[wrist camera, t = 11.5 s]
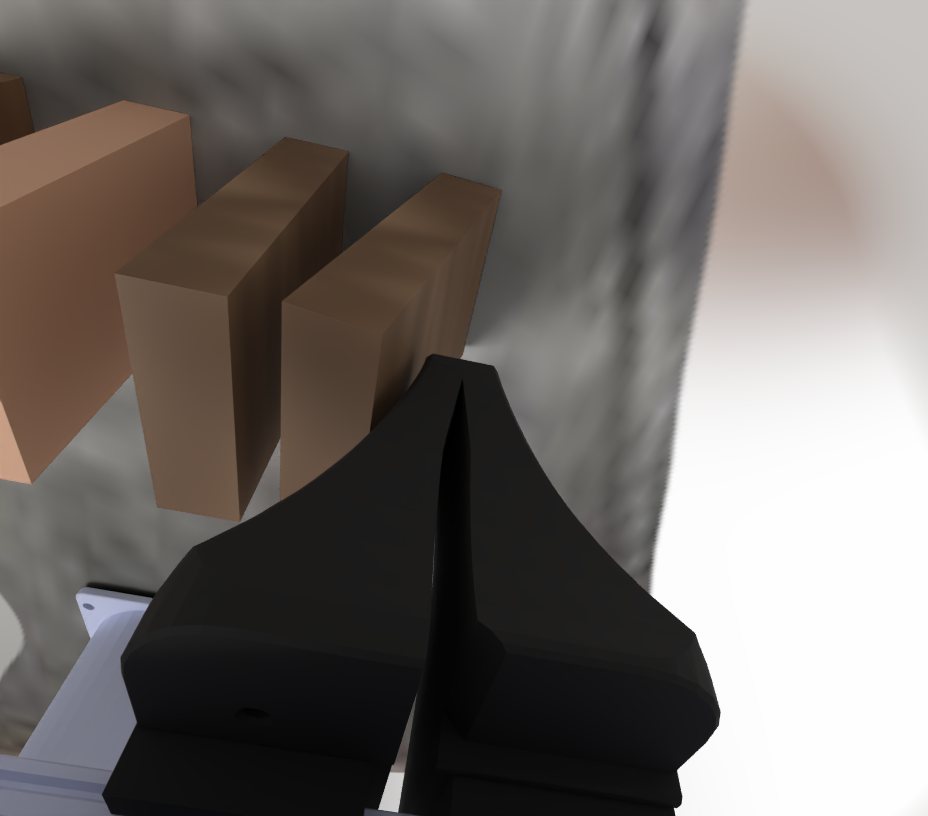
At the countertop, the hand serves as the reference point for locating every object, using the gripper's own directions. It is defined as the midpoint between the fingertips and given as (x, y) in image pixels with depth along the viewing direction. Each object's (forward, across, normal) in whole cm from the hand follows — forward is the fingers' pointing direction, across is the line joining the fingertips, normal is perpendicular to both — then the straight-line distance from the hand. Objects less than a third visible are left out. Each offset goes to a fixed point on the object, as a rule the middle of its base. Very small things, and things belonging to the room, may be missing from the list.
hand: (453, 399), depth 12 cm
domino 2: (+6, +4, 0) cm, 7 cm away
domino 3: (+6, 0, 0) cm, 6 cm away
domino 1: (+6, +8, 0) cm, 10 cm away
